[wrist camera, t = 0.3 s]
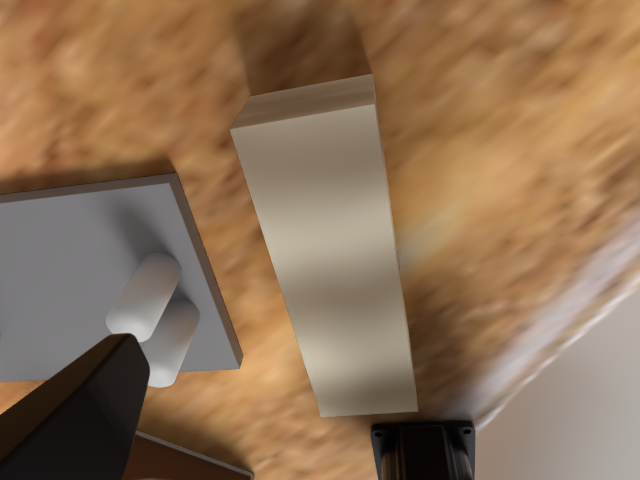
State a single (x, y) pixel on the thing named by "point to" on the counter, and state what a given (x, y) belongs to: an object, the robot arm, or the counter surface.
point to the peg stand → (108, 280)
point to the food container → (175, 463)
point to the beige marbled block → (332, 239)
